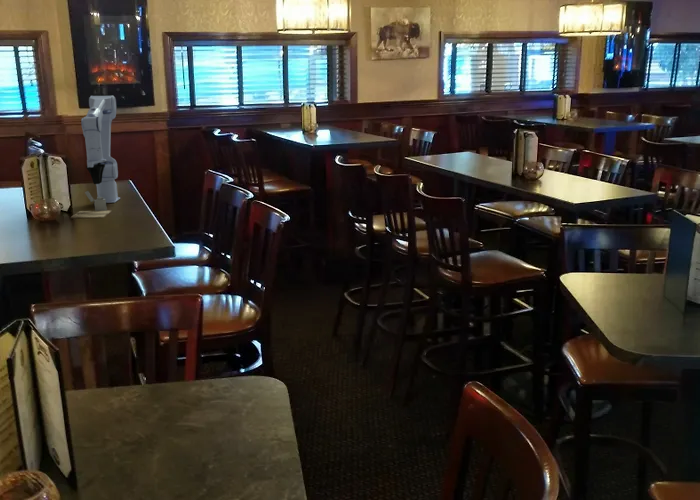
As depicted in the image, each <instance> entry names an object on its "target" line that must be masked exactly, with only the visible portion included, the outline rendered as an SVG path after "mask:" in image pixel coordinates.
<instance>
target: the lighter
mask: <svg viewBox="0 0 700 500" xmlns="http://www.w3.org/2000/svg"><path fill="white" fill-rule="evenodd" d="M84 194H85V195H86V197H87V198H88V200H89V202H90V203H92V202H93V204H94V211H105V210H108V208H107V203H106V199H103V197H98V196H97V197H96V199H95V198H94V197H93V196H92V194H91V193H90V191H89V190H87V191H85V192H84Z"/></svg>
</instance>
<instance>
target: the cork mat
mask: <svg viewBox="0 0 700 500" xmlns="http://www.w3.org/2000/svg"><path fill="white" fill-rule="evenodd" d="M112 212H113V211H112V210H111V209H109V210H108V209H107V210H105V211H95V210H79V211H77V212H76V213H75V214H73V215H72V216H70V219H94V218H95V219H97V218H98V219H99V218H100V219H102V218H105V217H107V215H109V214H110V213H112Z"/></svg>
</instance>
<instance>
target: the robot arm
mask: <svg viewBox="0 0 700 500" xmlns="http://www.w3.org/2000/svg"><path fill="white" fill-rule="evenodd" d="M88 106H89V109H88V111H87V113H86V116H83V117H82V118H81V120H80V121H81V123H80V124H81V129H82V133H83V137H84V139H85V141H84V143H85V149H86V169H87V171H88V172H89V174H90V176H91V180H92V182H93V184H94V185H95V186H96V193H97V197H103V199H106V204H110V203H111V204H113V203H116V202H118V201H119V200H121V197H119V194H118V185H117V182H116V181H115V180H116V179H118V177H119V170H118V169H119V168H118V162H117V160H116V159H115V158H113V157H112V156H111V140H112V139H111V137H112V136H111V135H112V134H111V133H112V132H111V131H112V122H113V120H114V119H115V118H116V117H117V116H116V115H117V99H116V97H115V96H114V95H90V97H88Z"/></svg>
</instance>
